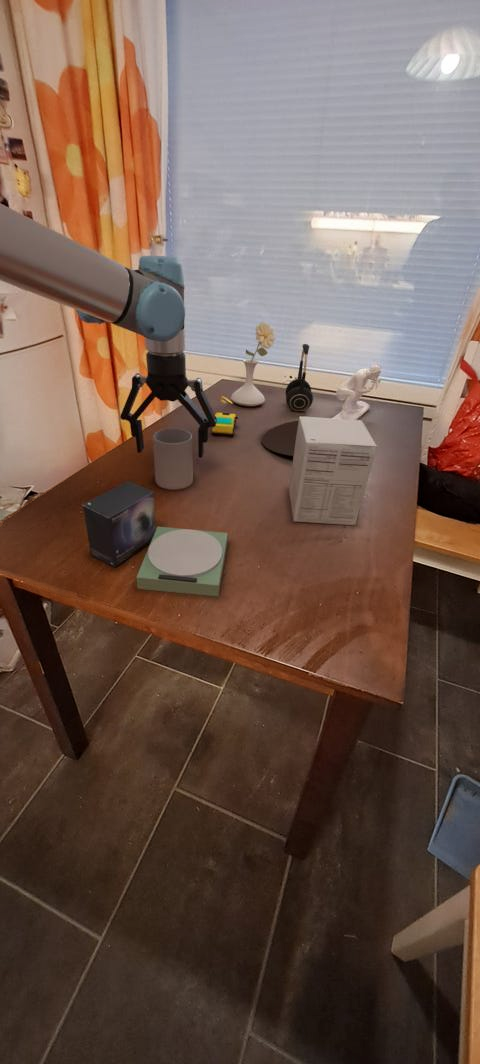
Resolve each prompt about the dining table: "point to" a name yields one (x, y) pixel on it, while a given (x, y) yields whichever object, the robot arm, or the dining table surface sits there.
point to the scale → (184, 562)
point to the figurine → (356, 393)
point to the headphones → (300, 388)
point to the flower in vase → (248, 391)
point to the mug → (173, 458)
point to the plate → (281, 438)
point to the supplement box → (330, 470)
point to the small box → (120, 522)
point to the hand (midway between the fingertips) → (170, 452)
